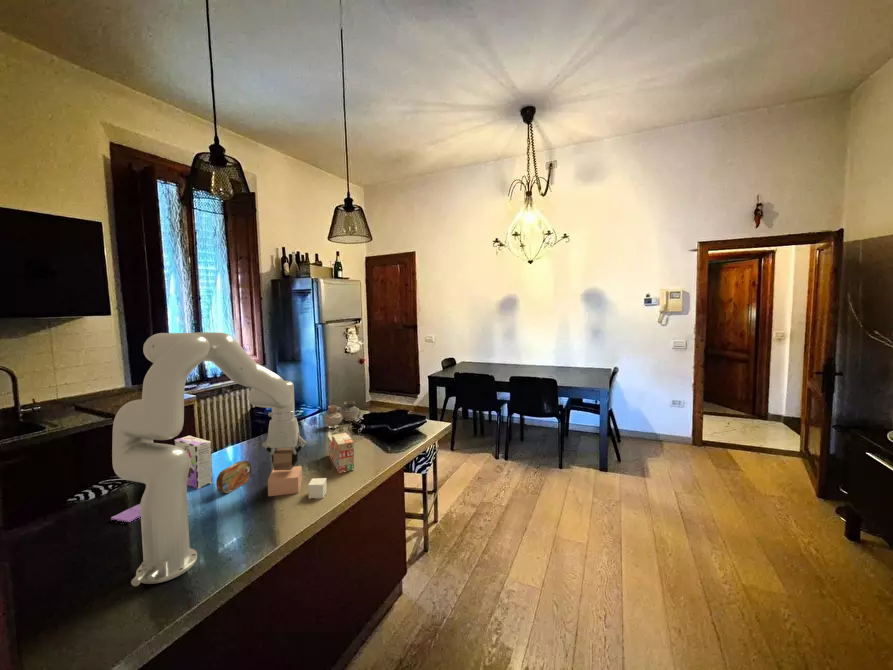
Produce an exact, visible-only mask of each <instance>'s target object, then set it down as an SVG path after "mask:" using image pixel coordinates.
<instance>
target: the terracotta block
mask: <svg viewBox="0 0 893 670" xmlns="http://www.w3.org/2000/svg"><path fill="white" fill-rule="evenodd" d="M302 483H303V468H302V465H298V466H297V465H295V466H294V467H293V468H292V469H291V470H274V468H273V469H272V471H271V472H270V474H269V477H268V479H267V496H268V497H273V496H282V495H283V496H284V495H293V494H299V493H300V490H301V485H302Z"/></svg>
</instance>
